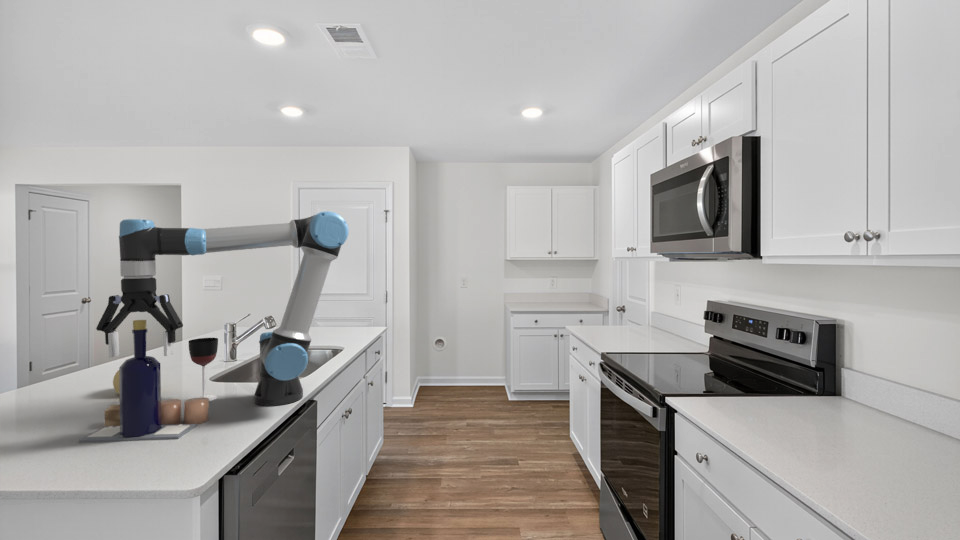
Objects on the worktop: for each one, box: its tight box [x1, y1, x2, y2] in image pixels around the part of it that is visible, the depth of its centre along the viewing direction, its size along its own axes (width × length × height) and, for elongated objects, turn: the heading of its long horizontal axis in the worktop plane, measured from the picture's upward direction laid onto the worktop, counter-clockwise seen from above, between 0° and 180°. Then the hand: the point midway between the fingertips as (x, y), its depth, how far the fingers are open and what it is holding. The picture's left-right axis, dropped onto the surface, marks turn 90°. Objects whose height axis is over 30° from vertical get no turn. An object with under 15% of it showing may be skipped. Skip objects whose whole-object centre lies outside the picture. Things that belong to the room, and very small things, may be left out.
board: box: [78, 423, 197, 443], centre depth 120 cm, size 24×9×1 cm, turn 96°
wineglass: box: [188, 337, 219, 402], centre depth 149 cm, size 8×9×20 cm
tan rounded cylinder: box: [183, 396, 210, 425], centre depth 129 cm, size 6×6×6 cm
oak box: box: [104, 403, 120, 427], centre depth 127 cm, size 5×5×5 cm
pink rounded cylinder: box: [161, 398, 182, 425], centre depth 128 cm, size 6×6×6 cm
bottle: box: [118, 319, 162, 437], centre depth 119 cm, size 9×9×30 cm
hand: (141, 355), depth 119 cm, fingers open, 13 cm apart
